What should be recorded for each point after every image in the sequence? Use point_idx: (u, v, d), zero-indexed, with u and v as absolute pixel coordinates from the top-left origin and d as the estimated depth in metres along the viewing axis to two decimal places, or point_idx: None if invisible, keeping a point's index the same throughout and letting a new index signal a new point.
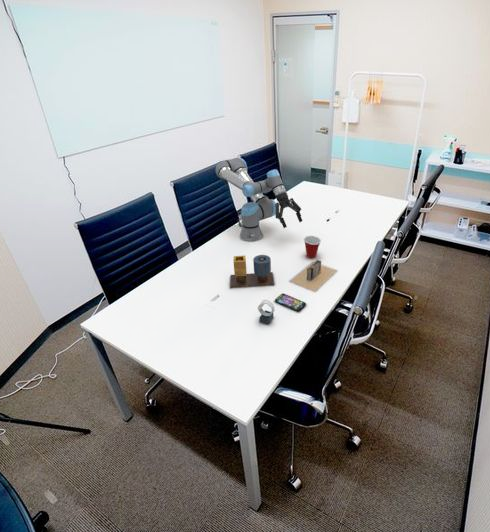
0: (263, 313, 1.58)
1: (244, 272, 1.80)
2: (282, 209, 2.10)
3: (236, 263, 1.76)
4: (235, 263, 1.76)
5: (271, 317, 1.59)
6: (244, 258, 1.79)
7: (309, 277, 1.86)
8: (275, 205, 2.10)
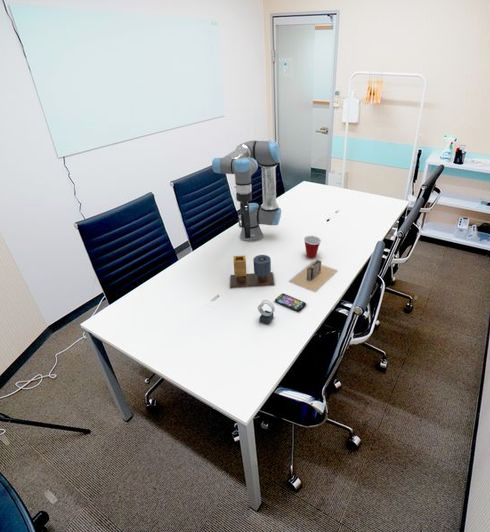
0: (263, 313, 1.58)
1: (244, 272, 1.80)
2: (241, 209, 1.70)
3: (236, 263, 1.76)
4: (235, 263, 1.76)
5: (271, 317, 1.59)
6: (244, 258, 1.79)
7: (309, 277, 1.86)
8: None
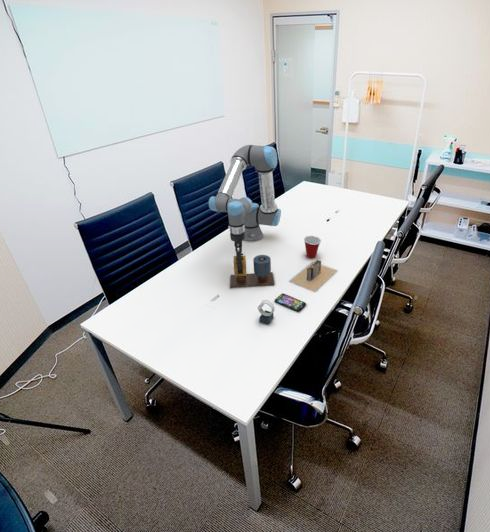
0: (263, 313, 1.58)
1: (244, 272, 1.80)
2: None
3: None
4: (235, 263, 1.76)
5: (271, 317, 1.59)
6: (244, 258, 1.79)
7: (309, 277, 1.86)
8: None
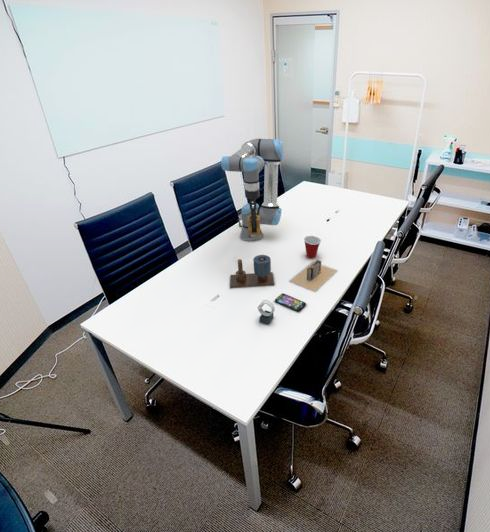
0: (263, 313, 1.58)
1: (258, 231, 1.83)
2: None
3: None
4: (249, 221, 1.79)
5: (271, 317, 1.59)
6: (258, 217, 1.82)
7: (309, 277, 1.86)
8: None
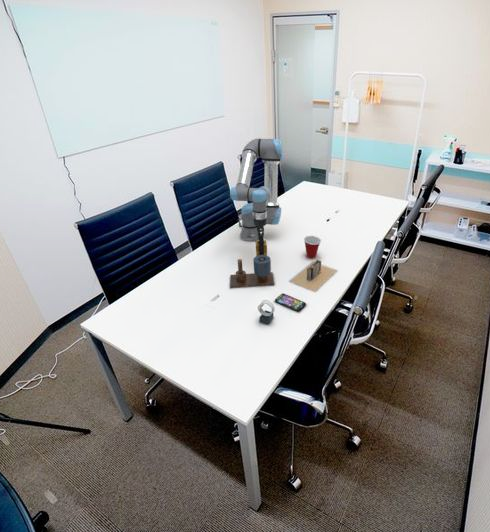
0: (263, 313, 1.58)
1: None
2: None
3: None
4: (257, 246, 1.94)
5: (271, 317, 1.59)
6: (265, 242, 1.96)
7: (309, 277, 1.86)
8: None
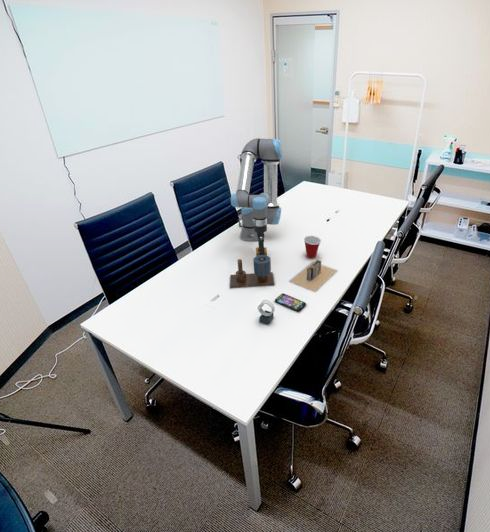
0: (263, 313, 1.58)
1: None
2: None
3: (258, 254, 1.96)
4: (257, 254, 1.96)
5: (271, 317, 1.59)
6: (265, 249, 1.99)
7: (309, 277, 1.86)
8: None
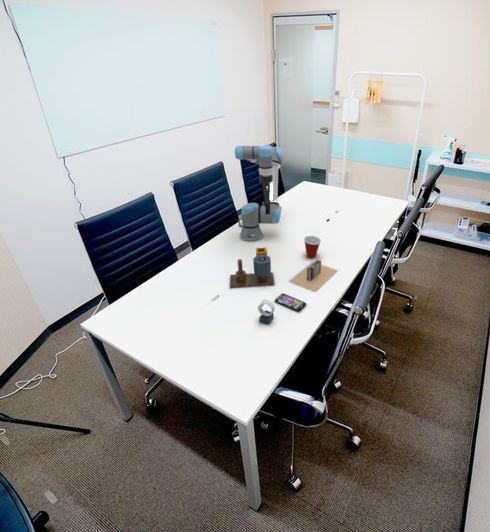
0: (263, 313, 1.58)
1: None
2: None
3: (258, 254, 1.96)
4: (257, 254, 1.96)
5: (271, 317, 1.59)
6: (265, 249, 1.99)
7: (309, 277, 1.86)
8: None
